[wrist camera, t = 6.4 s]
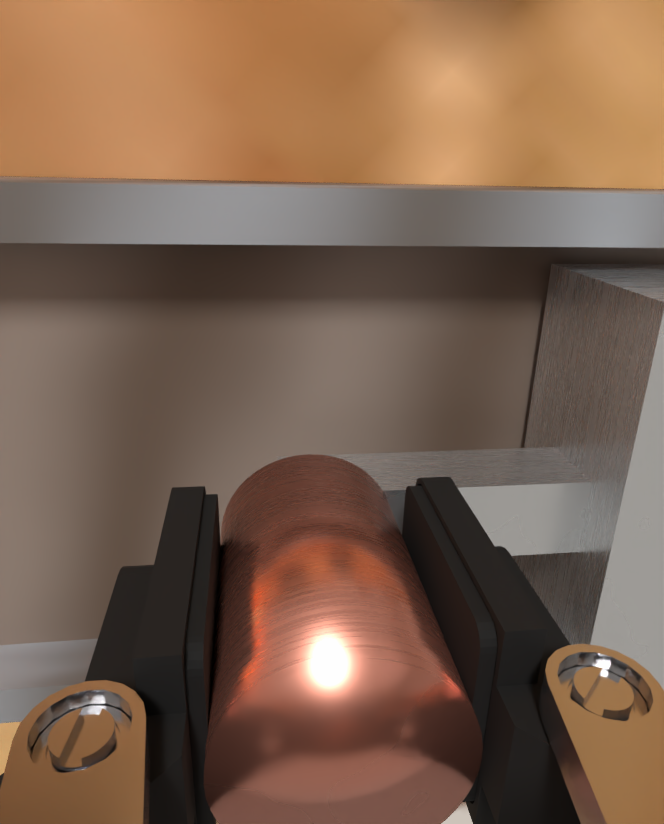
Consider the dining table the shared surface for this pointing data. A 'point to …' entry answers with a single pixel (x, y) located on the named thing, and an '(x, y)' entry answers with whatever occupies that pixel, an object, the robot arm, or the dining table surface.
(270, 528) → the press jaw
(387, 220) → the nut press
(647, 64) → the dining table surface
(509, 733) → the robot arm
